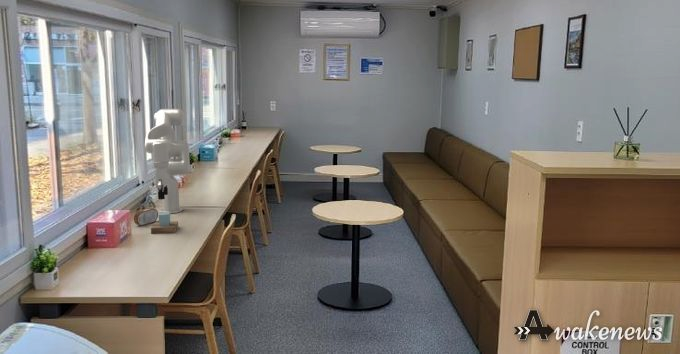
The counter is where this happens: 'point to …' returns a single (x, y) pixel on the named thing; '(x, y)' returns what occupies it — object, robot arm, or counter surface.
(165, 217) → the block
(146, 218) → the wooden speaker
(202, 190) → the counter surface
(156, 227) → the base
